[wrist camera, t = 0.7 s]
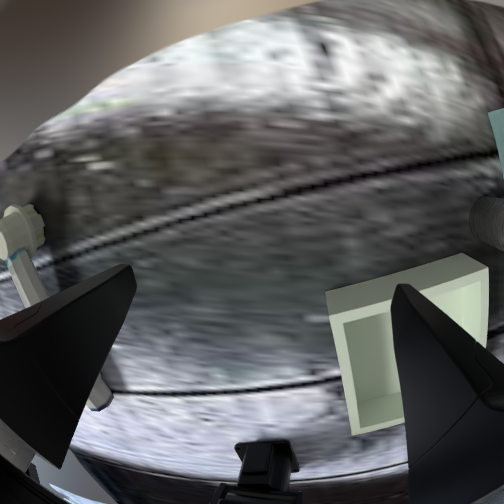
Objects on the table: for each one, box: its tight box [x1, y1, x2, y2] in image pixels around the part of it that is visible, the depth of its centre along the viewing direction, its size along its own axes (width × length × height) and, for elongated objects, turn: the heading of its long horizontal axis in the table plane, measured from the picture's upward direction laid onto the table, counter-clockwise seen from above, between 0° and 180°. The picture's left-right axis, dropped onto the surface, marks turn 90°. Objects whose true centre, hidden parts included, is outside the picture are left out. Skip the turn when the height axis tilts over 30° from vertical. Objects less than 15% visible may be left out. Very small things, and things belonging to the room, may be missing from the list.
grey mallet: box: [0, 203, 114, 411], centre depth 27 cm, size 5×7×25 cm
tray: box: [325, 253, 489, 436], centre depth 21 cm, size 13×13×4 cm
